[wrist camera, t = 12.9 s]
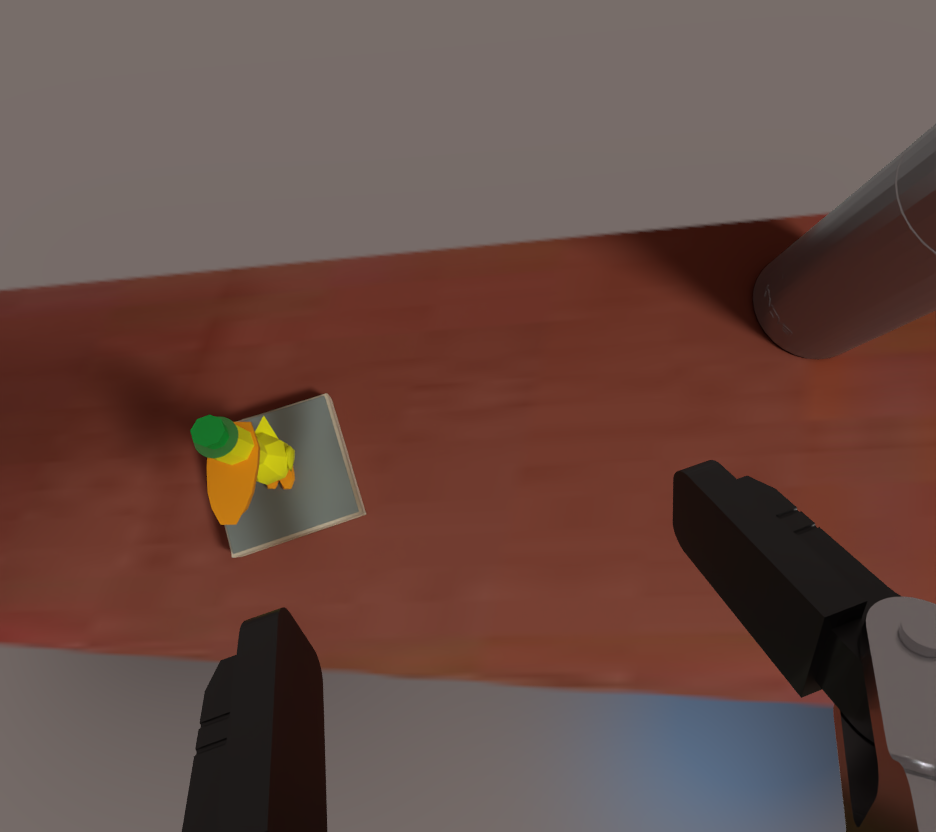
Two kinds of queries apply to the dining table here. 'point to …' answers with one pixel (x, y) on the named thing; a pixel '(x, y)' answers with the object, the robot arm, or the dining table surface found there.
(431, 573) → the dining table surface
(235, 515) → the toy figure
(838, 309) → the robot arm
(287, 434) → the stand
